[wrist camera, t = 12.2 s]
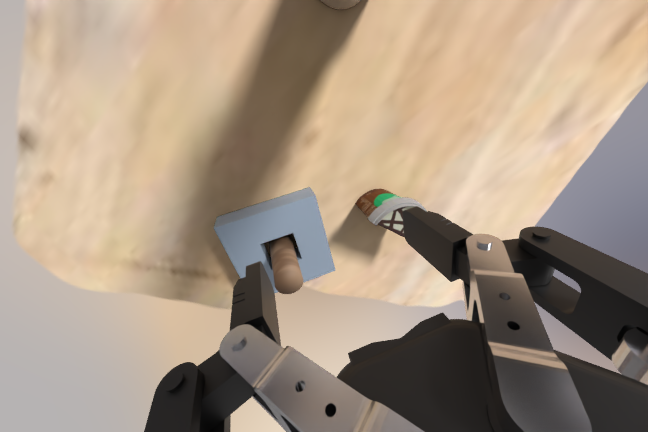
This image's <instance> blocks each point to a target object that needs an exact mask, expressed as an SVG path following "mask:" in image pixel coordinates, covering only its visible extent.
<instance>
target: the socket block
mask: <svg viewBox="0 0 648 432" xmlns="http://www.w3.org/2000/svg"><path fill="white" fill-rule="evenodd" d="M214 230H215V232H216V234H217V236H218V237H219V239H220V241H221V243H222V245H223V247H224V249H225V250H226V252H227V254H228V256H229V258H230V260H231V262H232V264H233V265H234V267H235V269H236V271H237V273H238V275H239V277H240V278H244V277H246V266H248V265H251V264H253V263H256V262H259V261H261V262H262V264H263V266H264V268H265V270H266V273H267V275H268V277H269V279H270V281H271V284H272V286H273V290H274V293H277V292H278V291H277V290H276V288H275V283H274V275H273V268H272V260H271V257H270V256H269V254H268V252H267V249H266V247H265V245H264V243H265V242H268V241H271V240H274V239H277V238H280V237H283V236H285V235H288V234H291V233H293V234H294V237H295V240H296V243H297V246H298V247H296V248H294V250H295V253H296V256H297V260H298V263H299V266H300V270H301V273H302V276H303V282H306V281H309V280H311V279H314V278H317V277H319V276H322V275H325V274H327V273H330V272H332V271H335V267H334V263H333V259H332V256H331V252H330V248H329V244H328V241H327V237H326V233H325V229H324V226H323V222H322V218H321V215H320V211H319V207H318V203H317V200H316V196H315V194H314V192H313V191H312V190H311V188H310V187H308V188H305V189H302V190H299V191H296V192H293V193H290V194H287V195H284V196H280V197H277V198H274V199H271V200H268V201H265V202H262V203H259V204H256V205H252V206H249V207H246V208H243V209H240V210H237V211H234V212H231V213H227V214H224V215H221V216H218V217H217V218H216V222H215V225H214Z"/></svg>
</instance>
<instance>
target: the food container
mask: <svg viewBox="0 0 648 432" xmlns="http://www.w3.org/2000/svg"><path fill="white" fill-rule="evenodd" d="M355 204H356V205H357V206H358V207H359V208H360V209H361V210H362V211H363V213H364V214H365V215H366V216H367V217H368V220H369V221H371V222H372V223H373V224H374V225H376V226H377V224H378V225H380V226H382V227H384V228H386V229H389V230H391V231H393V232H395V233H396V234H398V235H400V236H403V237H405V236H404V228H403V211H404V210H407V209H409V208H412V207H415V206H418V207H420V208H421V209H423V210H425V208H424V207H423V206H422V205H421V204H420V203H419V202H418V201H416V200H414V199H411V198H403V197H402V198H401V197H399V196H397V195H395V194H393V193H391V192H389V191H386V190H384V189H374V190H371V191H369V192H367V193H365V194H364V195H362V196H361V197H360V198H359V199H358V200H357V202H356V203H355ZM425 211H426V210H425ZM426 212H427V211H426Z"/></svg>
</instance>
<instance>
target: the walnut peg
mask: <svg viewBox="0 0 648 432" xmlns="http://www.w3.org/2000/svg"><path fill="white" fill-rule="evenodd" d="M269 246H270V253H271V260H272V268H273V275H274V283H275V288H276V290H277V291H278V292H280V293H283V294H291V293H294V292H296V291H297V290H299V289H300V288H301V287H302V285H303V276H302V273H301V270H300V266H299V263H298V260H297V256H296V253H295V250H294V246H293V243H292V239H291V236H290V234H288V235H285V236H283V237H280V238H277V239H274V240H271V241H269Z"/></svg>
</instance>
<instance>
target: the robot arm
mask: <svg viewBox="0 0 648 432" xmlns="http://www.w3.org/2000/svg"><path fill="white" fill-rule="evenodd" d="M321 1H322V2H323V3H324V4H326V5H327V6H329V7H331V8H334V9H348V8H351V7H353V6H354V5H356V4H357V3H358V2H360V1H361V0H321ZM403 228H404V236H405V239H406V241H407V242H408V244H409V245H410V246H411V247H413V248H414V249H415V250H416V251H417V252H418V253H419V254H420V255H421V256H423V257H424V258H425V259H426V260H427V261H428V262H429V263H430V264H432V265H433V266H434V267H435V268H436V269H437V270H438V271H439V272H440V273H442V274H443V275H444V276H445V277H446V278H447V279H448V280H449V281H450V282H452V281H455V280H457V279H461V280H463V293H464V301H465V309H466V317H467V320H463V319H450V320H449V319H448V318H447V317H446V316H445V315H444V313H440V314H438V315H436V316H433V317H431V318H429V319H426V320H424V321H422V322H420V323H419V324H418V325H416V326H415V327H414V328H413V329H411V330H410V331H409V332H408V333H407V334H405V335H404V336H403V337H402V338H400V339H394V340H387V341H381V342H374V343H371V344H368V345H366V346H364V347H361V348H359V349H357V350H354V351H352V352H350V353H348V355H349V358H350V361H351V362H350V363H349V364H347V365H346V366H345V367H344V368H343V369H342V371H341V372H340V373H339V374H338V376H337V377H335V376H334V375H332V374H331V373H329V372H328V371H326V370H325V369H323V368H322V367H320V366H319V365H317V364H316V363H314V362H313V361H311V360H310V359H309V358H307V357H305V356H304V355H303V354H301V353H300V352H298V351H296V350H295V349H294V348H292V347H290V346H287V347H286V348H282V347H281V343H280V334H279V327H278V318H277V310H276V302H275V295H274V290H273V286H272V284H271V281H270V279H269V277H268V275H267V273H266V270H265V268H264V266H263V264H262V262H261V261H259V262H256V263H253V264H251V265H248V266H246V277H244V278H241V279H238V281H237V283H236V285H235V287H234V290H233V301H232V304H233V305H232V313H231V323H230V332H229V333H227V335H226V336H225V337H224V338H223V340H222V342H221V344H220V349H219V351H218V352H216V354H214V355H213V356H211V357H210V358H208V359H207V360H206V361H204V362H203V363H201V364H200V365H198V366H196V365H195V364H194V363H191V362H186V363H183V364H180V365H178V366H176V367H175V368H173V369H172V370H171V371H170V372H169V373H168V374H167V375H166V376H165V377H164V378H163V379H162V380H161V382H160V383H159V385H158V387H157V389H156V391H155V394H154V398H153V402H152V405H151V409H150V412H149V416H148V420H147V423H146V427H145V431H144V432H230V414H231V413H233V412H234V411H235V410H236V409H237V408H239V407H240V406H241V405H242V404H243V403H245V402H246V401H247V400H248V399H249V398H251V397H253V398H254V399H255V400H256V401H257V402H258V403H259V404H260V405H261V406H262V407H263V408H264V409H265V410H266V411H267V412H268V413H269V414H270V415H271V416H272V417H273V418H274V419H275V420H276V421H277V422H278V423H279V424H280V425H281V427H283V429H284V430H285V431H286V432H648V274H647V273H645V272H643V271H641V270H639V269H636V268H635V267H632V266H630V265H628V264H626V263H624V262H621V261H619V260H617V259H615V258H613V257H611V256H609V255H606V254H604V253H602V252H600V251H598V250H596V249H593V248H591V247H589V246H587V245H585V244H583V243H580V242H578V241H576V240H573V239H572V238H570V237H567V236H565V235H563V234H561V233H559V232H557V231H554V230H552V229H548V228H544V227H527V228H524V229H522V230H521V231H520V235H519V239H512V240H504V241H501V240H500V239H499V238H497V237H495V236H492V235H488V234H475V235H473V234H471V233H470V232H468V231H466V230H465V229H463V228H461V227H460V226H458V225H456V224H455V223H452V222H451V221H450V220H448V219H446V218H445V217H443V216H441V215H439V214H437V213H433V212H430V211H428V212H426V211H425V210H423V209H421V208H420V207H418V206H415V207H412V208H409V209H407V210H404V211H403ZM555 269H556V270H558V271H560V272H561V273H563V274H565V275H566V276H568V277H570V278H572V279H573V280H574V281H576V282H577V283H578V284H579V286H580V288H581V293H579V292H578V291H576V290H575V289H573V288H571V287H570V286H568V285H566V284H565V283H563V282H562V281H560V280H558V279H557V278H555V277H554V276H553V273H554V270H555ZM534 302H535V303H537V304H538V305H539V306H541V307H542V308H543V309H545V310H546V311H547V312H548V313H550V314H551V315H552V316H554V317H555V318H556V319H558V320H559V321H560V322H562V323H563V324H564V325H566V326H567V327H568V328H569V329H571V330H572V331H573V332H575V333H576V334H578V335H579V336H580V337H581V338H583V339H584V340H585V341H587V342H588V343H589V344H590V345H592V346H593V347H594V348H596V349H597V350H598V351H600V352H601V353H602V354H604V355H605V356H606V357H608V358H609V359H610V360H612V361H613V364H614V366H615V367H616V368H617V370H618V371H619V372H620V373H621V374H622V375H621V374H619V373H616V372H613V371H610V370H608V369H605V368H602V367H600V366H597V365H594V364H591V363H588V362H586V361H583V360H580V359H578V358H575V357H572V356H569V355H567V354H564V353H561V352H558V351H556V350H553V347H552V345H551V343H550V340H549V338H548V335H547V333H546V330H545V328H544V325H543V323H542V320H541V318H540V315H539V313H538V311H537V308H536V306H535V303H534Z"/></svg>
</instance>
